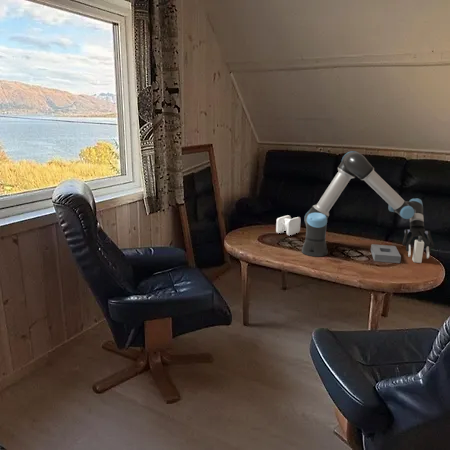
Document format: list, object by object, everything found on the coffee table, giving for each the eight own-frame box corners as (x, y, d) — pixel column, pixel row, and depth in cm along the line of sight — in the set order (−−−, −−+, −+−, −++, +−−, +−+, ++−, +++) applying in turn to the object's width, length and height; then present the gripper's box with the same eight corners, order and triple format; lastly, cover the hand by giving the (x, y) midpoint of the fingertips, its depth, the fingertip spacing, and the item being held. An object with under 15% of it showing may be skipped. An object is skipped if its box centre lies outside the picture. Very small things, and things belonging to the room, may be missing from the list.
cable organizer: (287, 237, 284) (288, 220, 281) (275, 234, 291) (275, 217, 288) (300, 232, 294) (301, 216, 291) (287, 230, 301) (288, 214, 298)
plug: (413, 262, 239) (417, 237, 235) (412, 259, 243) (415, 234, 240) (421, 262, 238) (425, 237, 234) (419, 260, 243) (423, 235, 239)
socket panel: (374, 261, 240) (374, 254, 239) (370, 250, 259) (371, 244, 258) (400, 263, 237) (401, 256, 236) (394, 252, 256) (395, 246, 255)
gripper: (434, 227, 248) (437, 261, 237) (396, 224, 253) (397, 257, 242) (438, 220, 242) (441, 255, 231) (398, 218, 247) (399, 252, 236)
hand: (418, 256), depth 237 cm, fingers open, 9 cm apart
